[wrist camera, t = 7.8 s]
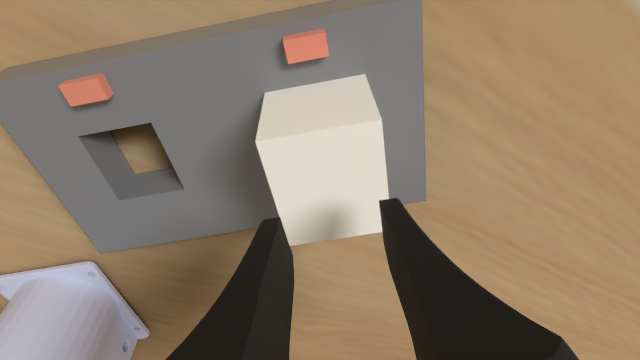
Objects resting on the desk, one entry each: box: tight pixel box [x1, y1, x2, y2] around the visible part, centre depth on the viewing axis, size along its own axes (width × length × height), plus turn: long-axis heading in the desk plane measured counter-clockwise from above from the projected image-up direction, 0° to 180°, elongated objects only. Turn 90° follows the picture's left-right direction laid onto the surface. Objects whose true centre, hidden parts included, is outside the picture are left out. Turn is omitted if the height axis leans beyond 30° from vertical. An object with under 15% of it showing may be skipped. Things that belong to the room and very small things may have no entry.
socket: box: [0, 0, 426, 254], centre depth 20 cm, size 11×20×3 cm, turn 101°
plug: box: [255, 74, 389, 246], centre depth 18 cm, size 7×5×6 cm
